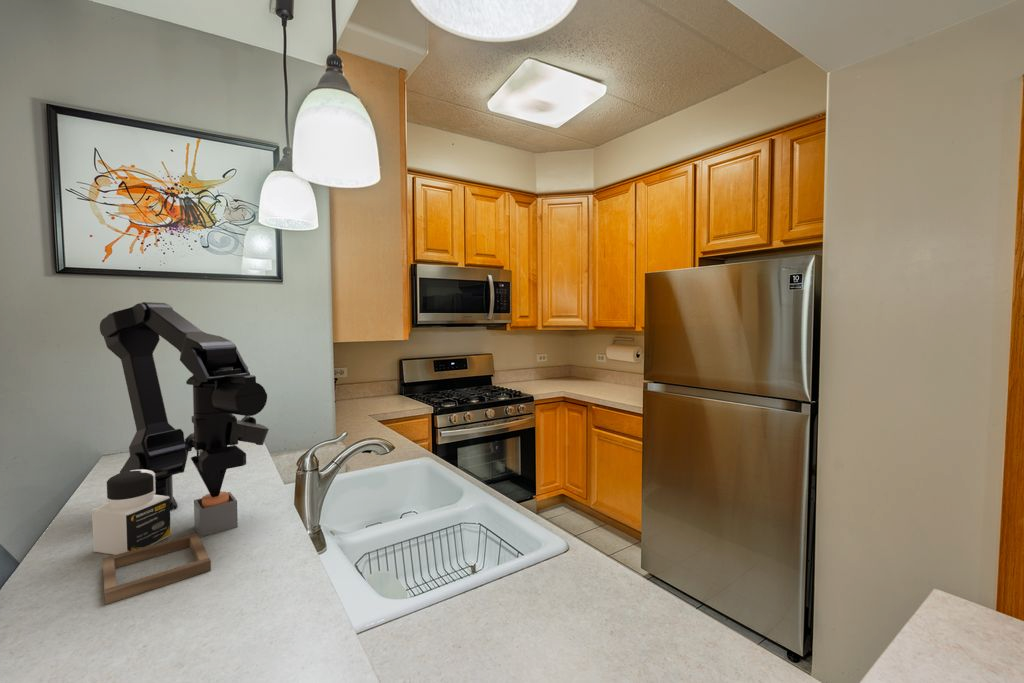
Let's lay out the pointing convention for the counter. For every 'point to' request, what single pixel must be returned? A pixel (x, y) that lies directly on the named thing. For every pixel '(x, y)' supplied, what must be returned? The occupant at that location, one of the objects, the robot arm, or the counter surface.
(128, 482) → the medicine bottle
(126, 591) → the frame
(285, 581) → the counter surface
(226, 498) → the button
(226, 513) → the button housing
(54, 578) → the counter surface
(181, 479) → the counter surface
